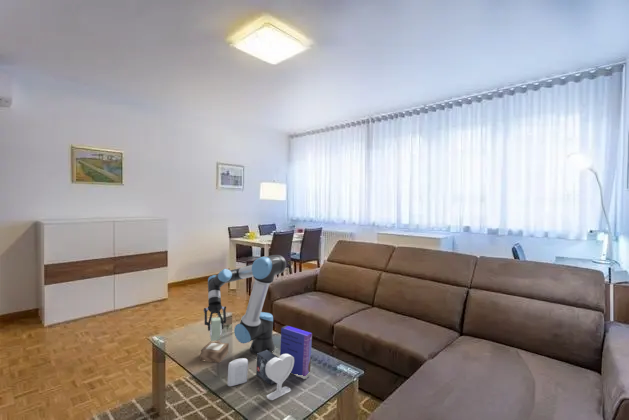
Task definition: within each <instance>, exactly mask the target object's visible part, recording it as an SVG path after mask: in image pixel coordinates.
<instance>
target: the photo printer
mask: <svg viewBox="0 0 629 420" xmlns="http://www.w3.org/2000/svg"><path fill="white" fill-rule="evenodd" d="M248 367H249V359H247V358H245V357H244V358H243V357H242V358H236V359H233V360H232V361H230V362H228V368H227V369H228V370H227V386H228V387H233V386H234V387H235V386H237V385H241V384H245V383H247V382H248V370H249V368H248Z"/></svg>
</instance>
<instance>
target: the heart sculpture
mask: <svg viewBox="0 0 629 420" xmlns="http://www.w3.org/2000/svg"><path fill="white" fill-rule="evenodd" d="M277 357H279V358H277ZM277 357H274V358H272V359H271V360H270V361H268V362H267V364H266V368H265V370H266V375H267V376H268V378H270V379H271V380H272V381H274V382H276V390H275V391H272V392H270V393H269V394H267V395H266V398H267V399H268V400H270V401H274V400H276V399H278V398H280V397H282V396H284V395H286V394H287V393H290V392H291V391H292V389H291V388H290V386H283V383H284V382H285V381H286V380H287V379H288V378H289V376H290V373H291V371H292V369H293V366H294V357H293V356H291V355H289V354H282V355H281V356H280V355H279V356H277Z"/></svg>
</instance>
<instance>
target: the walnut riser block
mask: <svg viewBox="0 0 629 420" xmlns="http://www.w3.org/2000/svg"><path fill="white" fill-rule="evenodd" d="M229 345H230V343H229V342H219V341H211V340H209V342H208V343H207V344H205V346H204V347H203V348H201V350H200V361H201V360H205V361H204V362H209V361H211V363H219V364H220V363H222V361H223V360H224V359H225V358H226V357H227V355H228V354H229V349H230V348H229Z"/></svg>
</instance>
